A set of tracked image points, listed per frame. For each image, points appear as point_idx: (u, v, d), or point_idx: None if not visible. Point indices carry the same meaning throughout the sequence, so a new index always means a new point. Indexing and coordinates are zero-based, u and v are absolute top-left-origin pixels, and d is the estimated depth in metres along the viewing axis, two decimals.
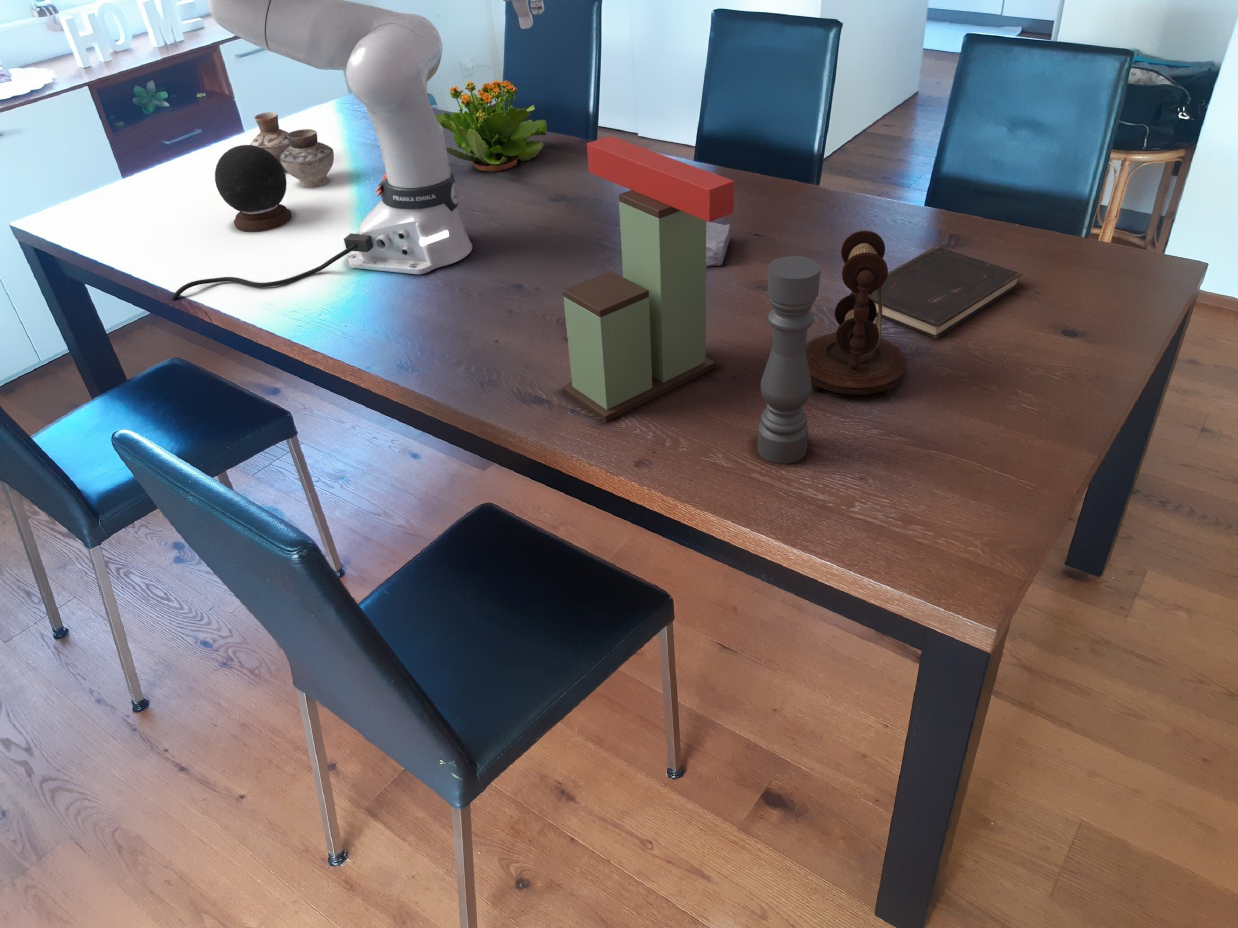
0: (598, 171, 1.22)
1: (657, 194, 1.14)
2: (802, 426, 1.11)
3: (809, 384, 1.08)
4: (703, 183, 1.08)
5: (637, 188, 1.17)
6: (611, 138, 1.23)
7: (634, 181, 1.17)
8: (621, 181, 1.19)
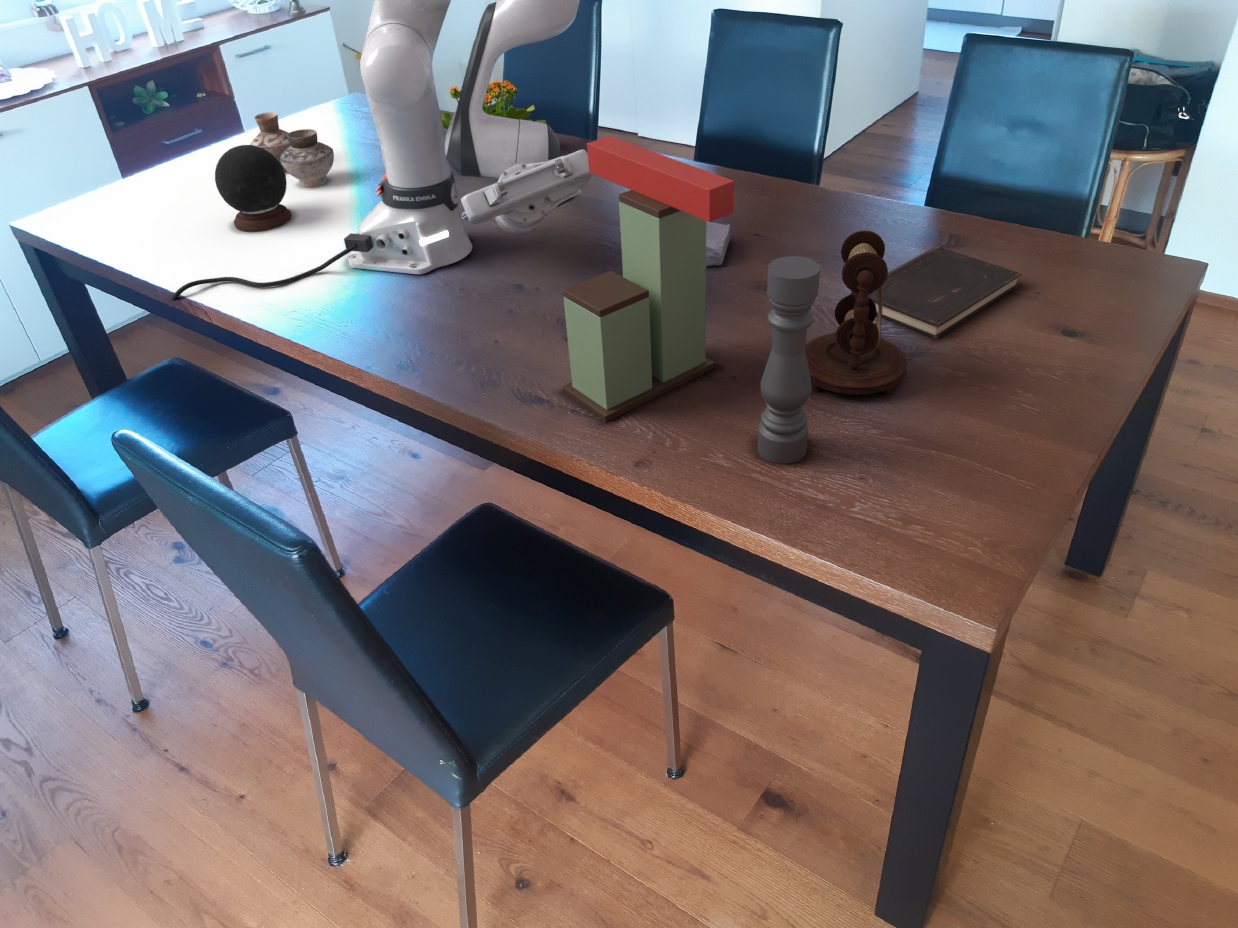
0: (598, 171, 1.22)
1: (657, 194, 1.14)
2: (802, 426, 1.11)
3: (809, 384, 1.08)
4: (703, 183, 1.08)
5: (637, 188, 1.17)
6: (611, 138, 1.23)
7: (634, 181, 1.17)
8: (621, 181, 1.19)
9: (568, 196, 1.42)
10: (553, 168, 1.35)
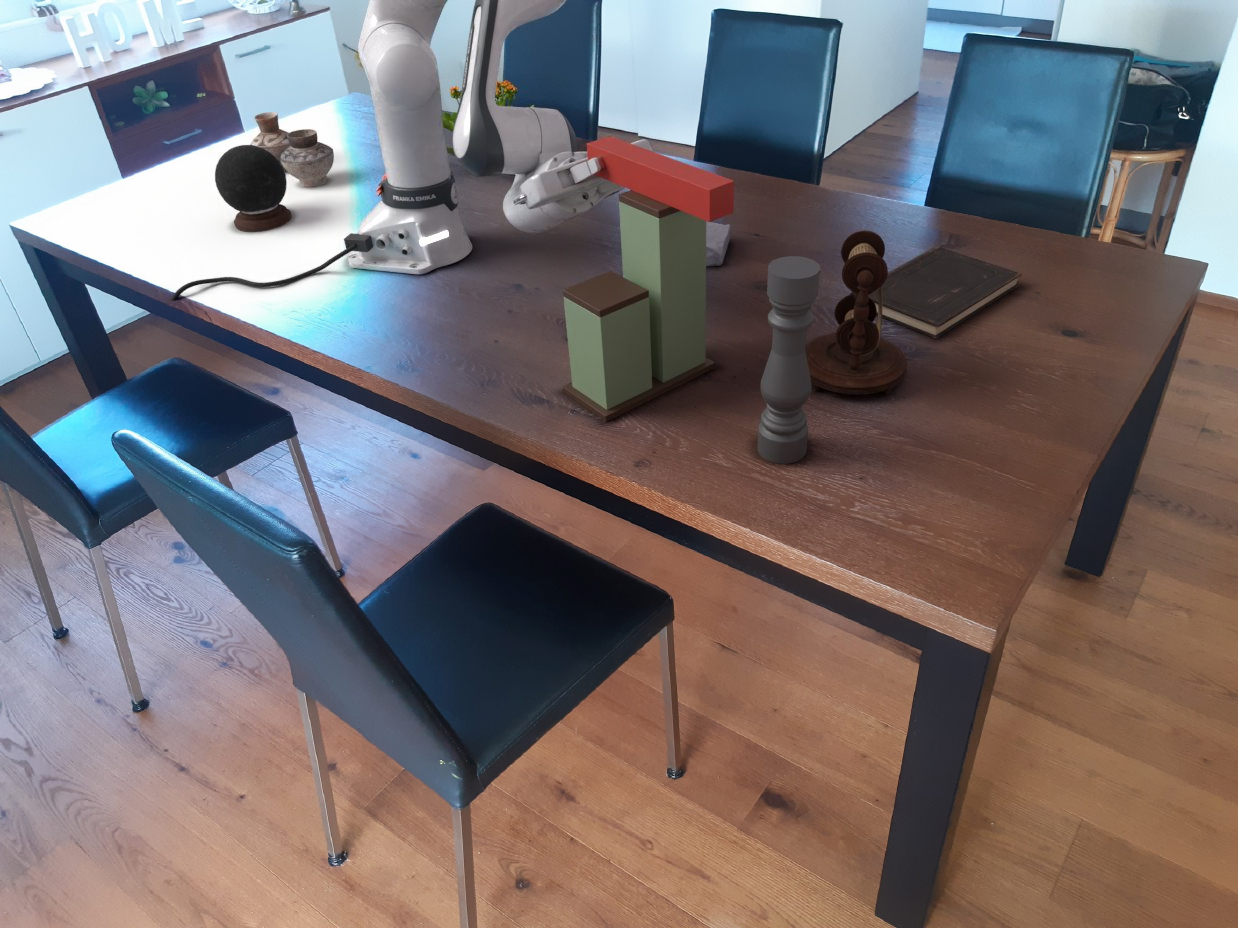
0: (598, 172, 1.22)
1: (656, 194, 1.14)
2: (802, 426, 1.11)
3: (809, 384, 1.08)
4: (703, 183, 1.08)
5: (637, 188, 1.17)
6: (611, 138, 1.23)
7: (634, 181, 1.17)
8: (621, 181, 1.19)
9: (615, 189, 1.35)
10: None
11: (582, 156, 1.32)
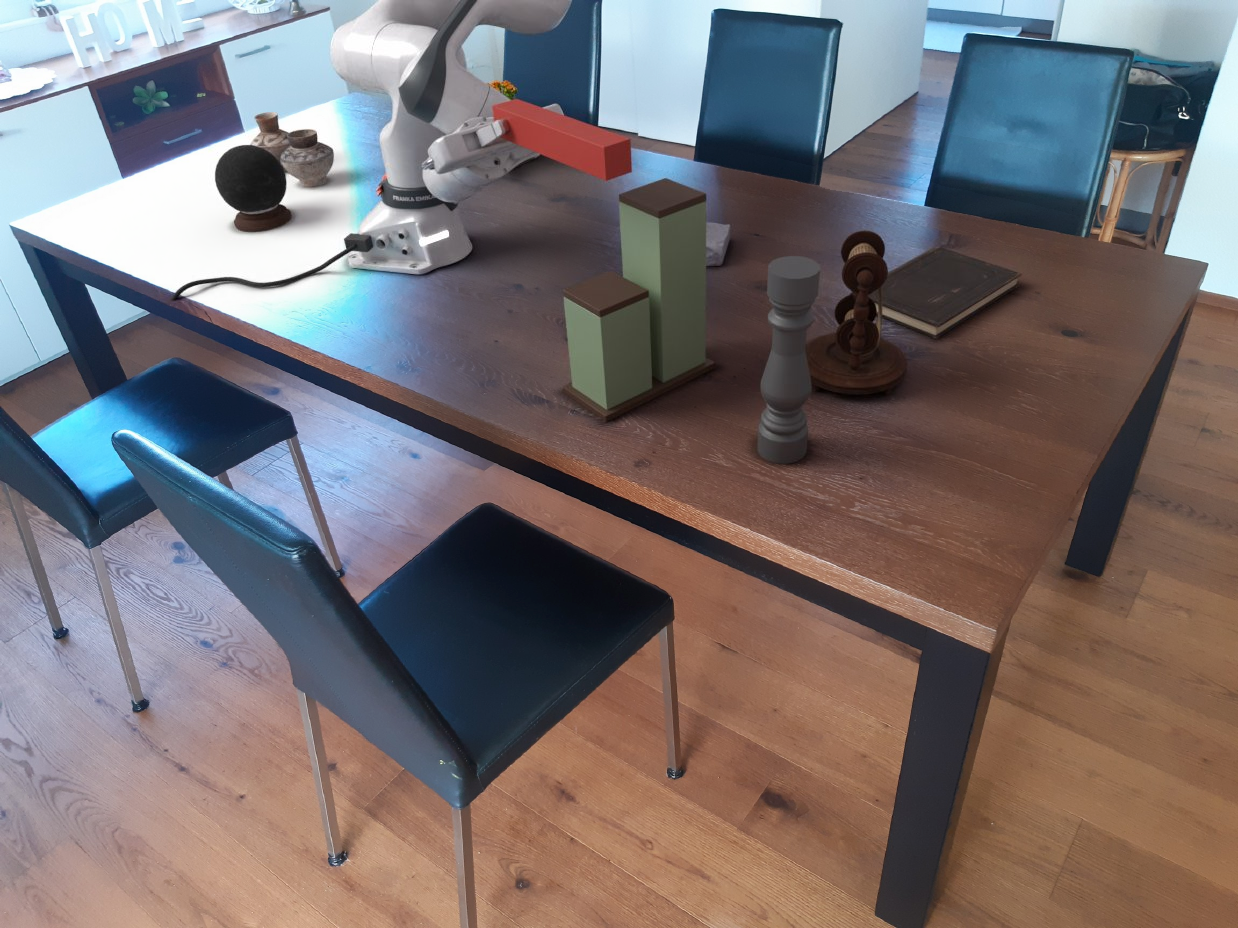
0: None
1: (557, 155, 1.13)
2: (802, 426, 1.11)
3: (809, 384, 1.08)
4: (598, 141, 1.07)
5: (540, 149, 1.16)
6: (517, 101, 1.21)
7: (536, 142, 1.16)
8: (525, 143, 1.18)
9: (529, 156, 1.34)
10: None
11: (494, 122, 1.31)
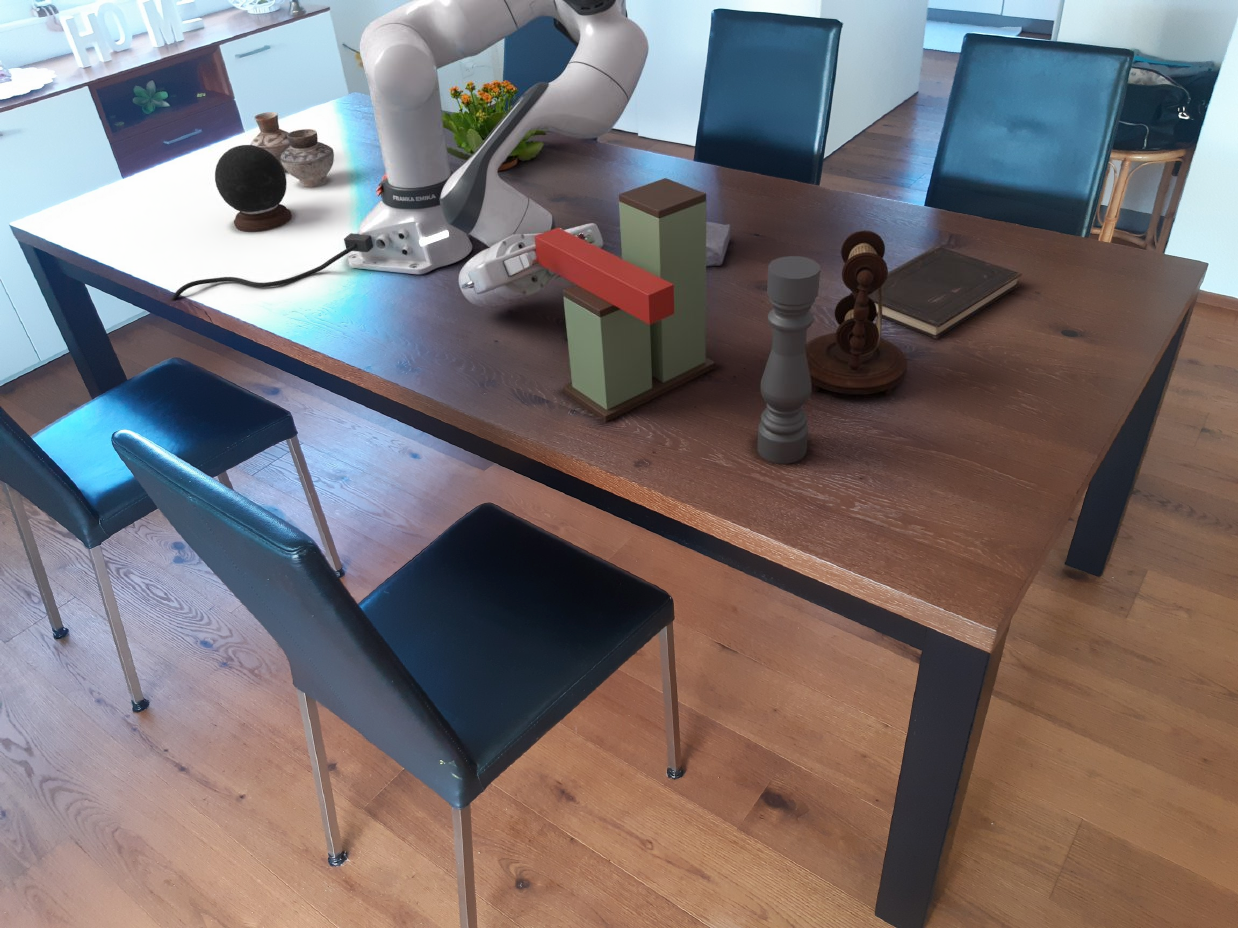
0: (546, 263, 1.24)
1: (600, 292, 1.16)
2: (802, 426, 1.11)
3: (809, 384, 1.08)
4: (642, 287, 1.09)
5: (582, 284, 1.18)
6: (558, 230, 1.24)
7: (579, 277, 1.18)
8: (567, 275, 1.20)
9: None
10: None
11: (532, 238, 1.33)
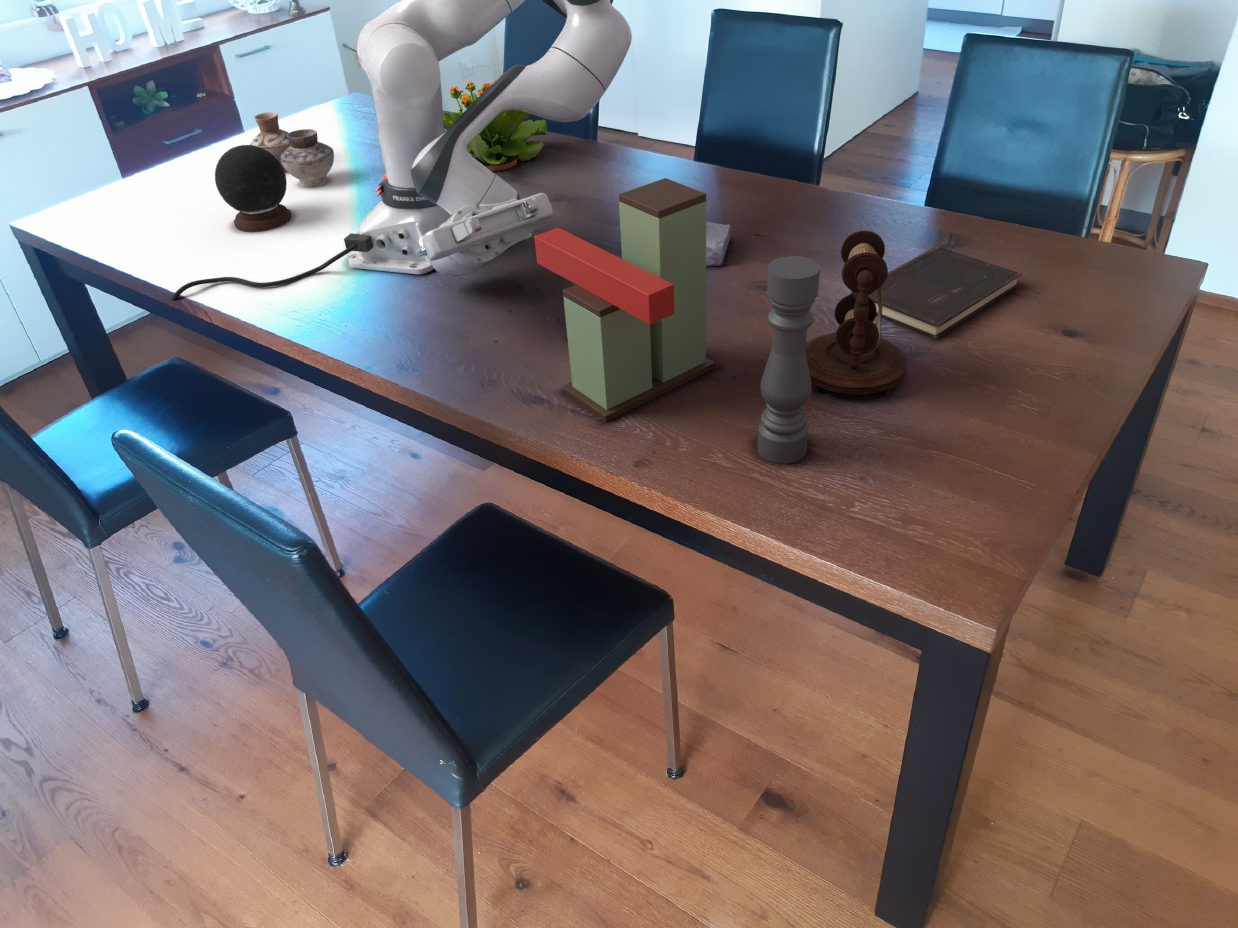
0: (546, 263, 1.24)
1: (600, 292, 1.16)
2: (802, 426, 1.11)
3: (809, 384, 1.08)
4: (642, 287, 1.09)
5: (582, 284, 1.18)
6: (558, 230, 1.24)
7: (579, 277, 1.18)
8: (567, 275, 1.20)
9: (520, 238, 1.43)
10: (516, 209, 1.35)
11: (487, 208, 1.41)
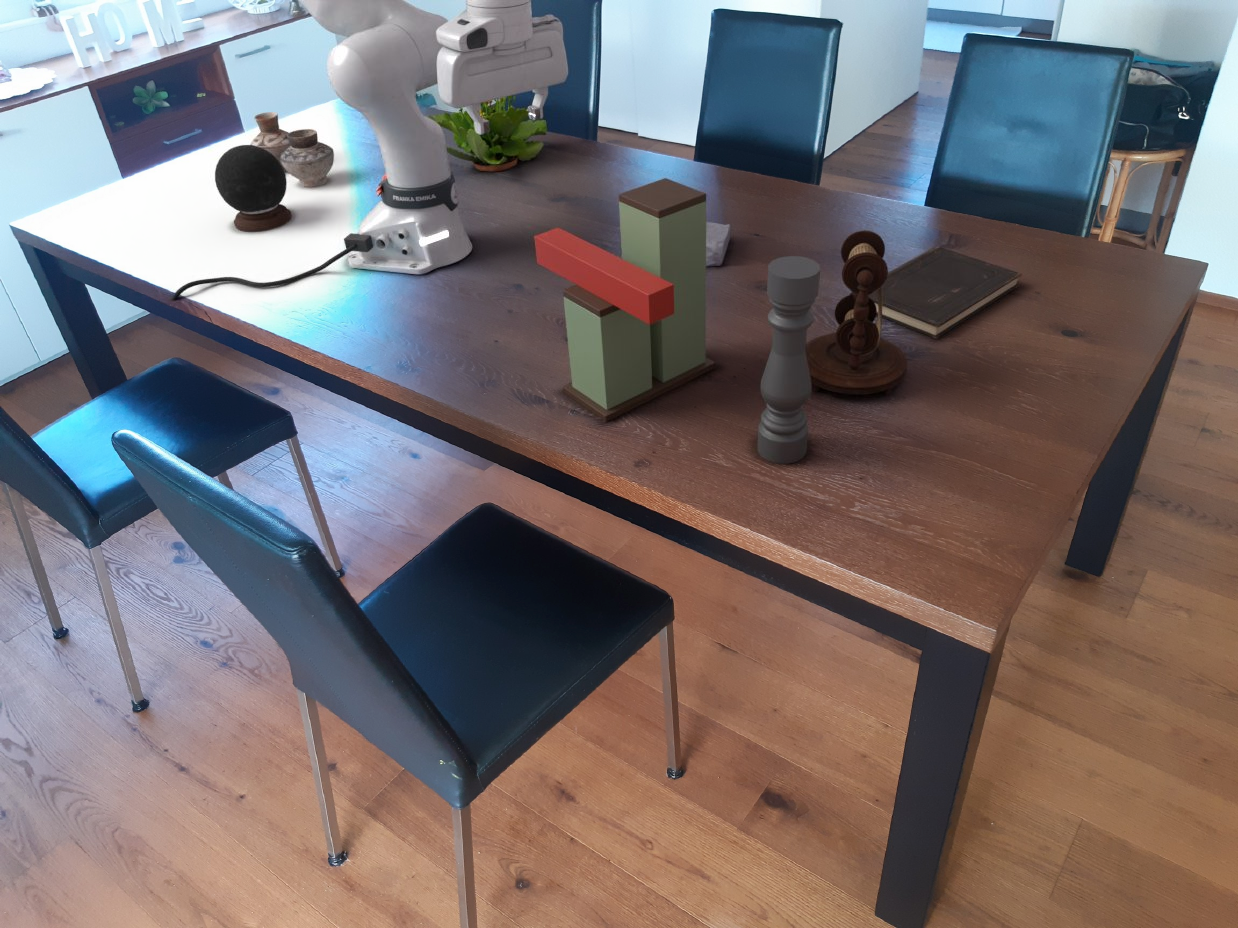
0: (546, 263, 1.24)
1: (600, 292, 1.16)
2: (802, 426, 1.11)
3: (809, 384, 1.08)
4: (642, 287, 1.09)
5: (582, 284, 1.18)
6: (558, 230, 1.24)
7: (579, 277, 1.18)
8: (567, 275, 1.20)
9: (474, 50, 1.22)
10: None
11: None
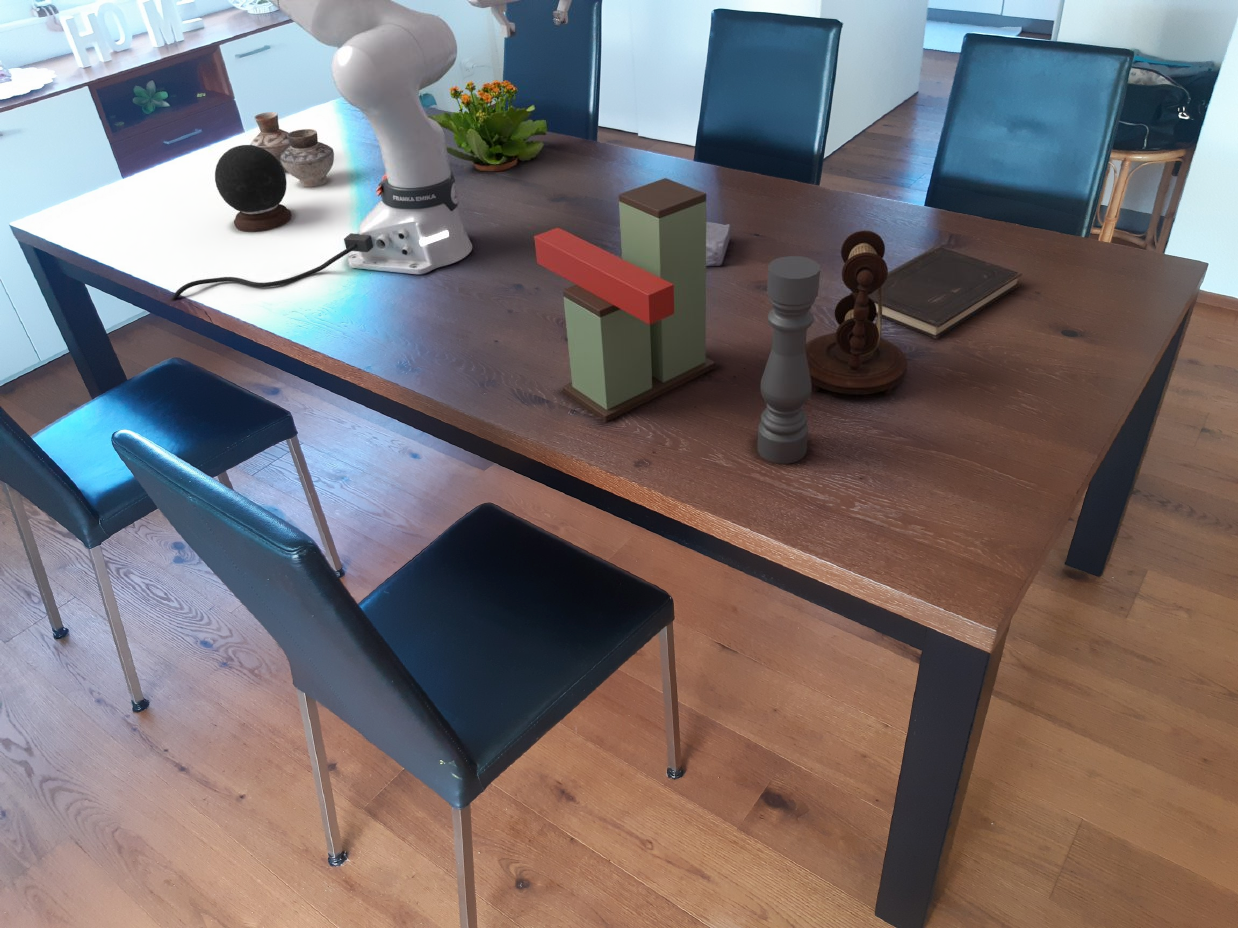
0: (546, 263, 1.24)
1: (600, 292, 1.16)
2: (802, 426, 1.11)
3: (809, 384, 1.08)
4: (642, 287, 1.09)
5: (582, 284, 1.18)
6: (558, 230, 1.24)
7: (579, 277, 1.18)
8: (567, 275, 1.20)
9: None
10: None
11: None
